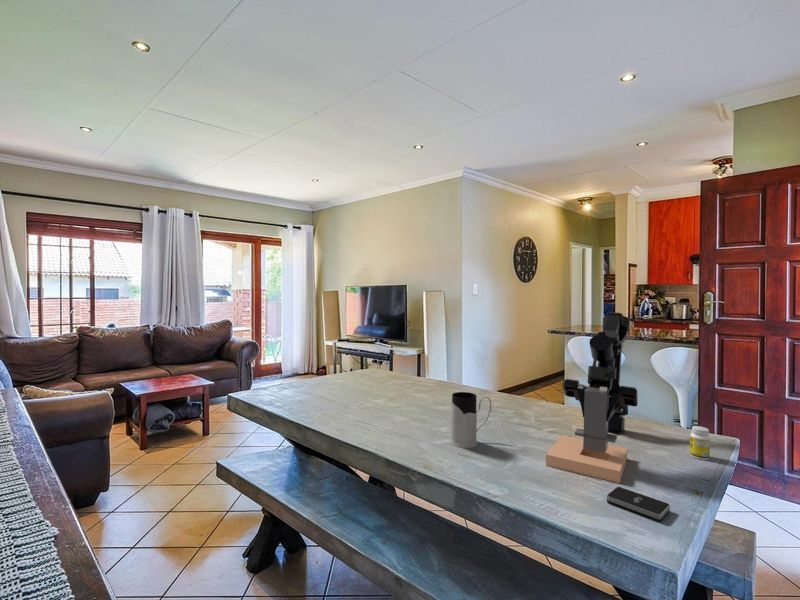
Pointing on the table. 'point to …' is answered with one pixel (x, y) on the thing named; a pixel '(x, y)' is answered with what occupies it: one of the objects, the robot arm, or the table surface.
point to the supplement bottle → (700, 443)
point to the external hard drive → (638, 504)
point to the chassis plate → (587, 459)
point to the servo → (596, 420)
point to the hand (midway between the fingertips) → (595, 418)
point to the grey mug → (465, 419)
